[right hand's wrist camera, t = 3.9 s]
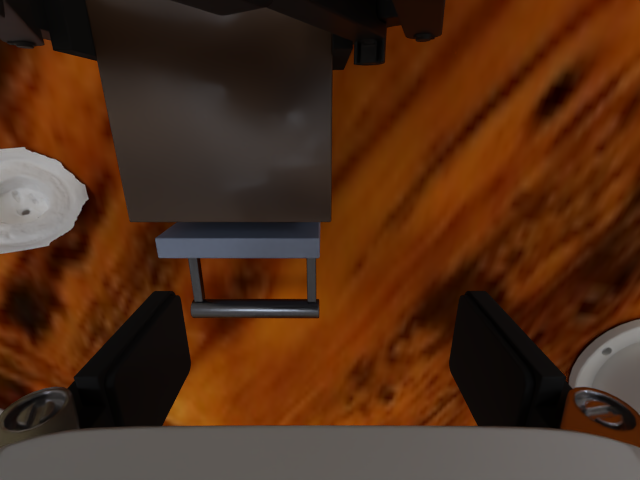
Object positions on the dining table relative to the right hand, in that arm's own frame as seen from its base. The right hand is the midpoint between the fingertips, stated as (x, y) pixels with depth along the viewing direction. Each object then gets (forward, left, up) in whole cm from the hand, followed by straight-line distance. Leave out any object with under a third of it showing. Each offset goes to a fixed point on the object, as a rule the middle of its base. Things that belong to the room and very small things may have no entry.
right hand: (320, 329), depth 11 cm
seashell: (-1, +22, -17) cm, 28 cm away
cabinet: (+8, +5, -17) cm, 20 cm away
